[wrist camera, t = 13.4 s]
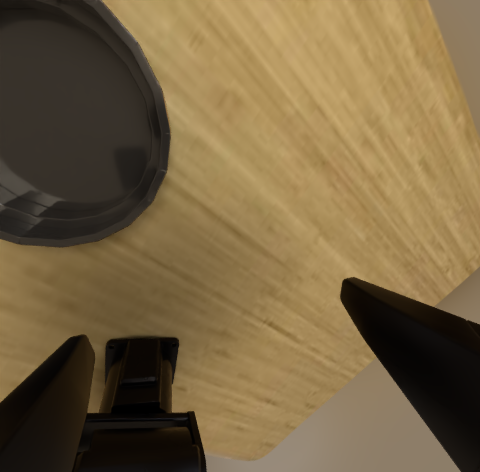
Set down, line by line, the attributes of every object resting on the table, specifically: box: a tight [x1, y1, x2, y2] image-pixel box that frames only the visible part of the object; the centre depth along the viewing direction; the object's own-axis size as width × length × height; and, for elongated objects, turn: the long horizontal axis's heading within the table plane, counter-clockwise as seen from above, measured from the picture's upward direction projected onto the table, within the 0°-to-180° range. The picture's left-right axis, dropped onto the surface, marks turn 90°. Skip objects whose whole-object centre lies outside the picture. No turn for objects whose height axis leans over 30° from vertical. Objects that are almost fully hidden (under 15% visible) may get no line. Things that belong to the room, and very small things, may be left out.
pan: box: [0, 0, 171, 247], centre depth 14 cm, size 13×13×4 cm
